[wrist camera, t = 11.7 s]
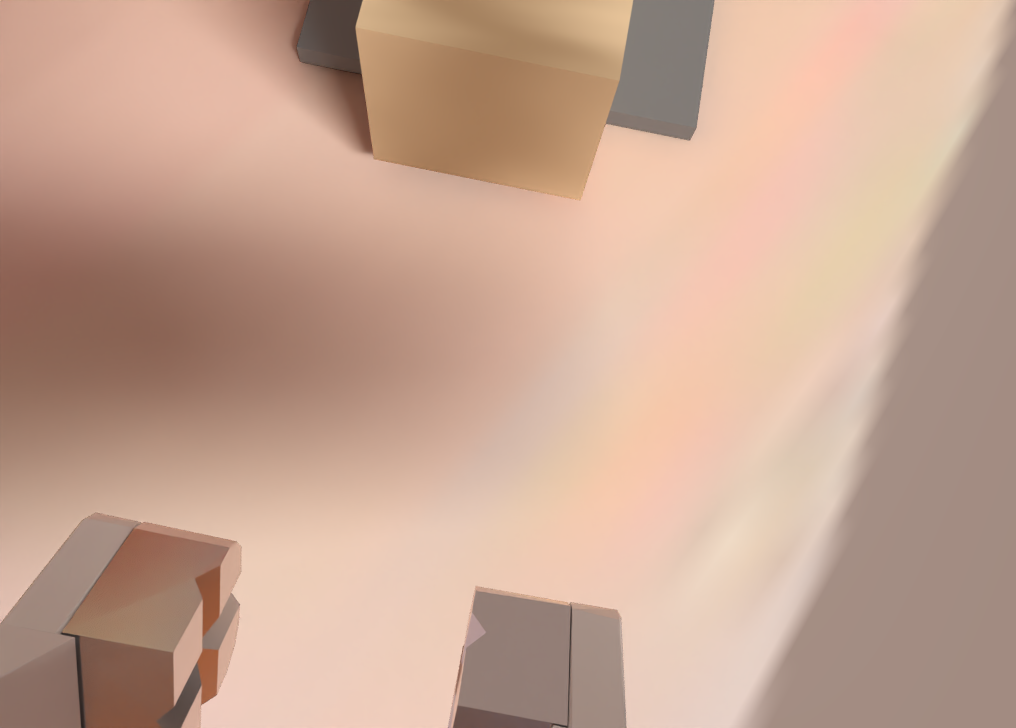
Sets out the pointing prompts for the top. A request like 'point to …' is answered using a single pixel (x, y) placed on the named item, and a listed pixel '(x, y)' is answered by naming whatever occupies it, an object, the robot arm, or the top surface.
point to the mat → (645, 69)
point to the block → (493, 86)
